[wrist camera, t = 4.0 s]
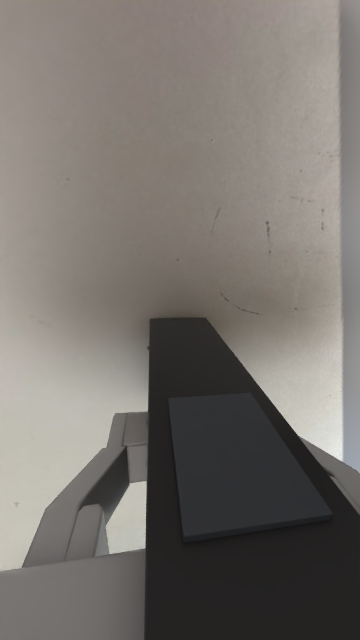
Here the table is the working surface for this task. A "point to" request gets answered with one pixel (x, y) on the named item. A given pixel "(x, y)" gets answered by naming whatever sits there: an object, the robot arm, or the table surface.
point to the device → (237, 507)
